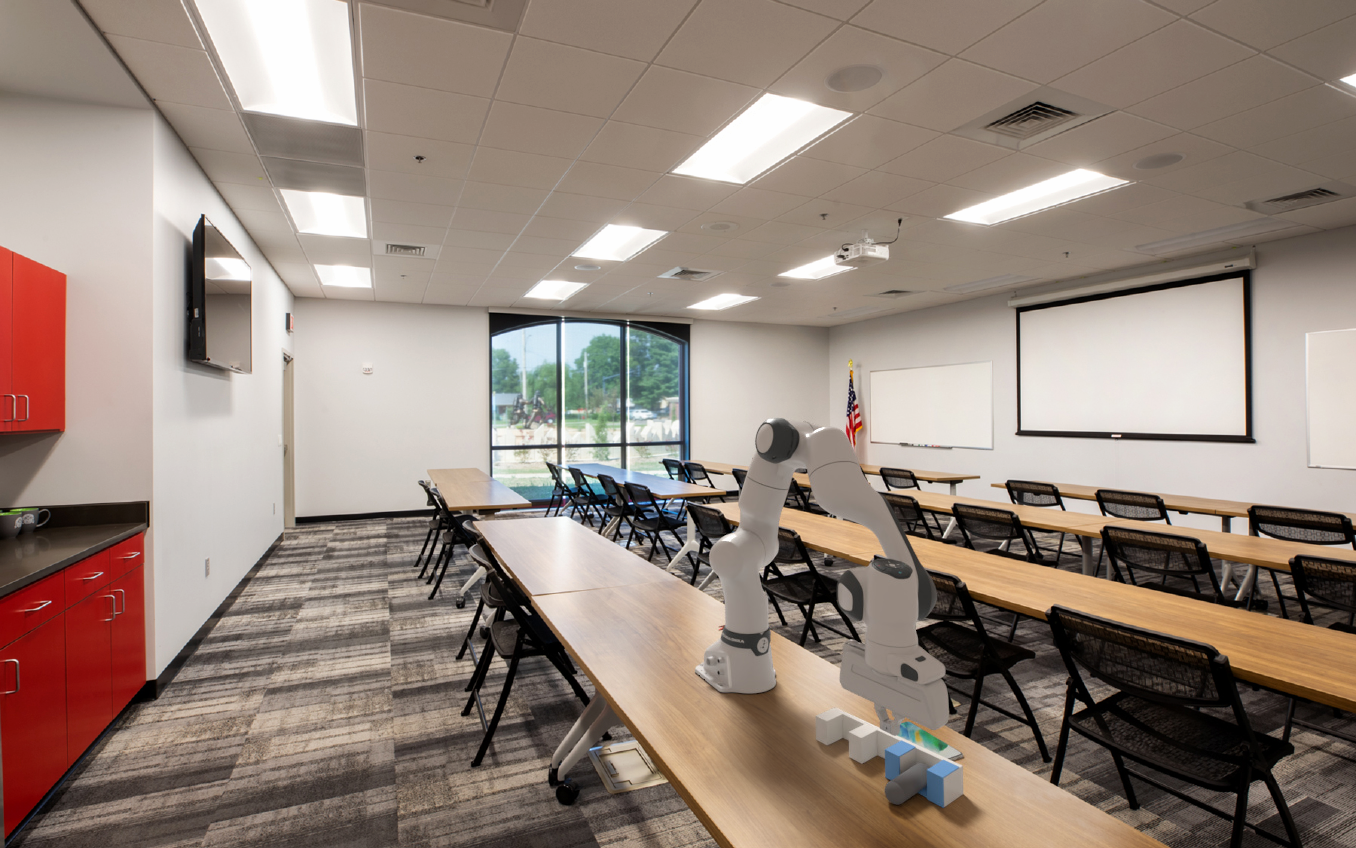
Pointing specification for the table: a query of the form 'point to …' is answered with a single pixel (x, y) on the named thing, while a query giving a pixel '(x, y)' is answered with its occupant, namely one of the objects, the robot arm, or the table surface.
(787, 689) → the table surface
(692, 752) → the table surface
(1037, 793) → the table surface
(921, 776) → the gray pill-shaped peg
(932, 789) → the white slotted rack
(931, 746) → the smartphone
